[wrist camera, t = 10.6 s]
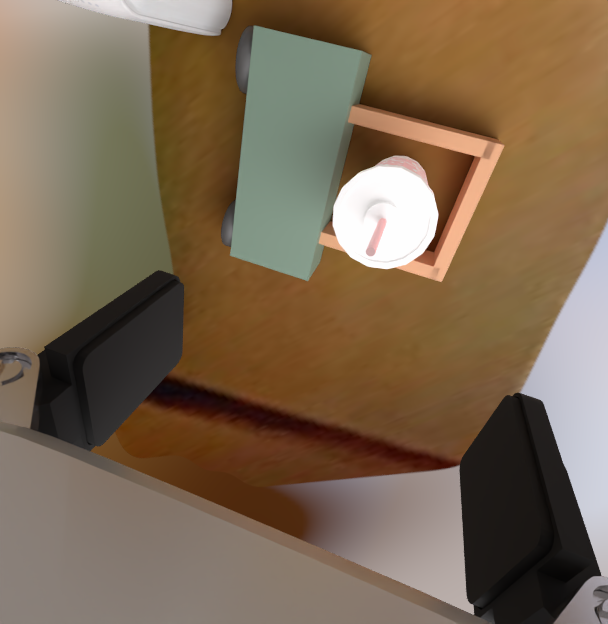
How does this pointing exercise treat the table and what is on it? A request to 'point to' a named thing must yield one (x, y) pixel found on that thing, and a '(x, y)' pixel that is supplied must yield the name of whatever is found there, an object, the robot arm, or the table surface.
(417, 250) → the beverage cup
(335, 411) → the table surface
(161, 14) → the photo printer
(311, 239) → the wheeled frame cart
